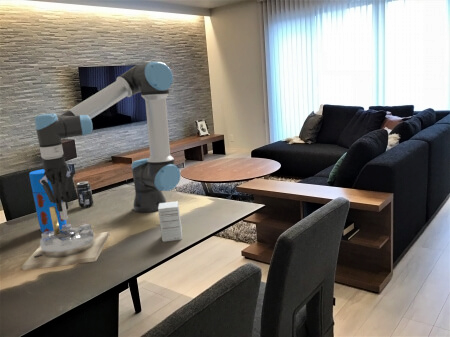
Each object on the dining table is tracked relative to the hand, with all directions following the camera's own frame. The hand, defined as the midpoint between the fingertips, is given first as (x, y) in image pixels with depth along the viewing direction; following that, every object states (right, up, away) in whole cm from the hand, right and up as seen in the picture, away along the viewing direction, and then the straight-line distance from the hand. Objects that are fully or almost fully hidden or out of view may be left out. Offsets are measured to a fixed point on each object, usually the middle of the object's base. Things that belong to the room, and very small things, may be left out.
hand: (64, 218), depth 157 cm
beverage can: (-9, 0, +52) cm, 53 cm away
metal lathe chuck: (+4, -9, -5) cm, 11 cm away
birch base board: (+4, -11, -5) cm, 13 cm away
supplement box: (+40, -7, -1) cm, 41 cm away
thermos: (-14, -7, +23) cm, 28 cm away
